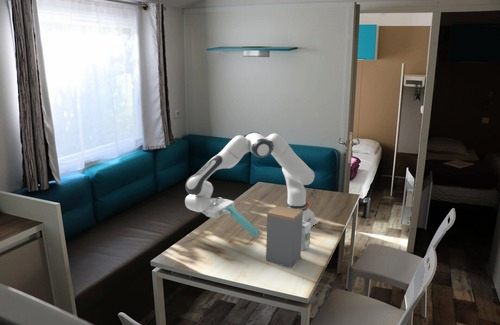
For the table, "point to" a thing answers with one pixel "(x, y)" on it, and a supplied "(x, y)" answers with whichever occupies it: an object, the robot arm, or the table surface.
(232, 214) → the teal batten
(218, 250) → the table surface
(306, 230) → the syrup box
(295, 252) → the pedestal
